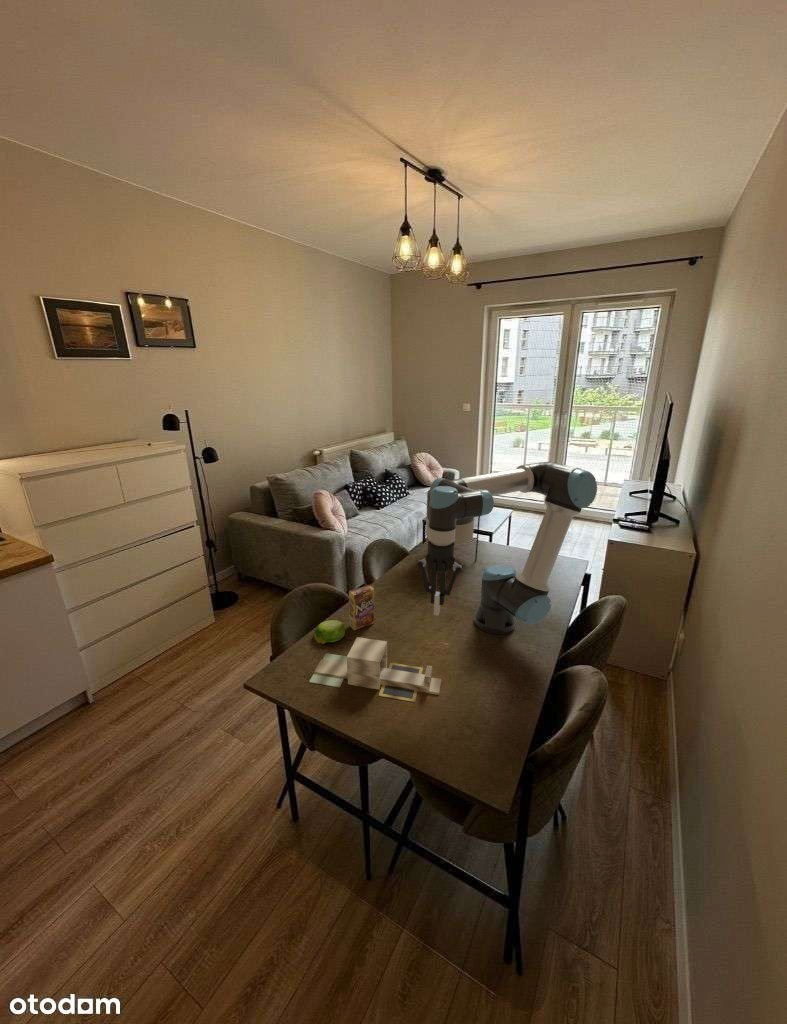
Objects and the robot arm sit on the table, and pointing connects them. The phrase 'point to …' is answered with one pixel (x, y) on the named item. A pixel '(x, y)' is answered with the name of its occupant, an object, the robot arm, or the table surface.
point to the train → (407, 677)
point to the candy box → (361, 607)
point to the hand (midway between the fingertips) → (436, 612)
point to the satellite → (368, 671)
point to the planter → (458, 527)
